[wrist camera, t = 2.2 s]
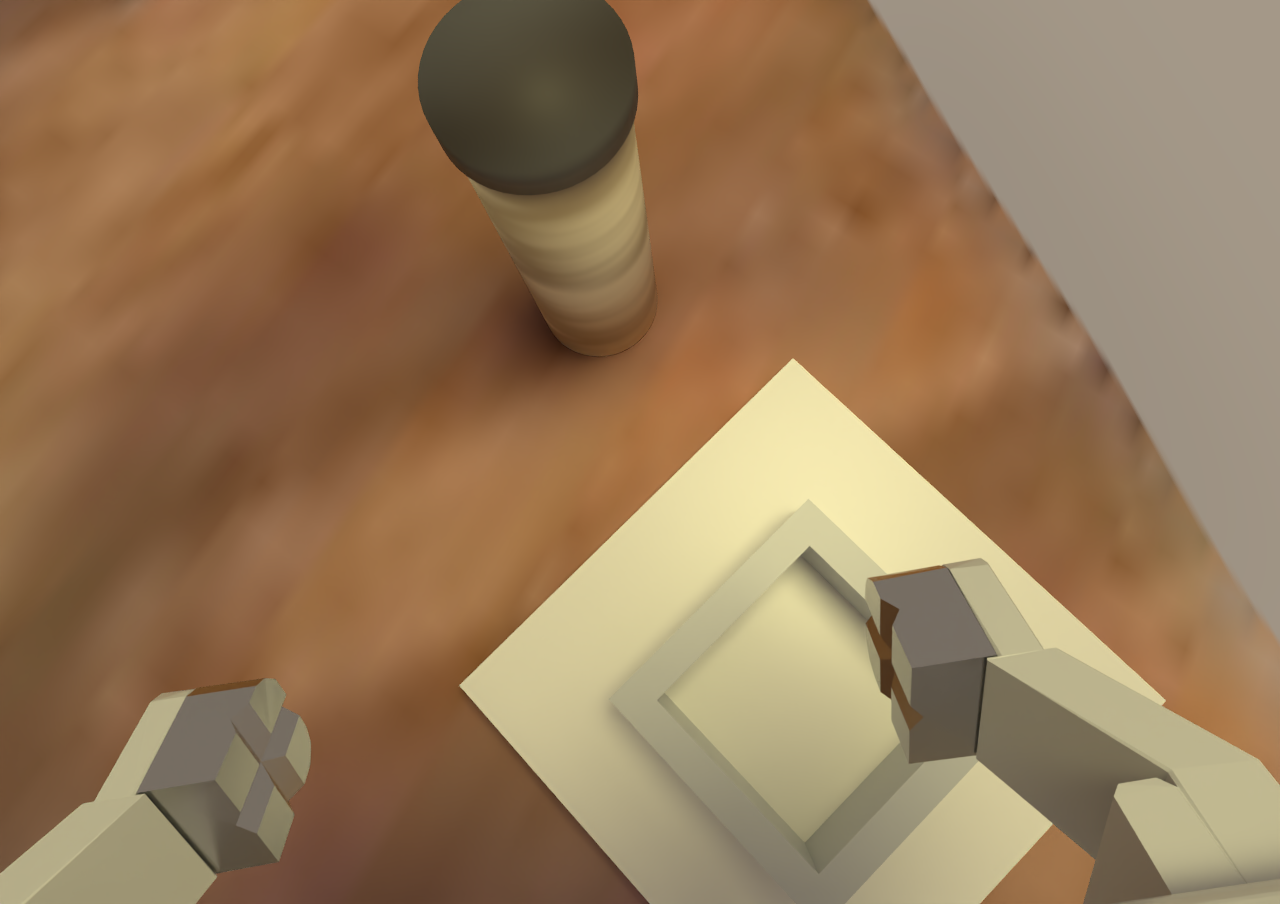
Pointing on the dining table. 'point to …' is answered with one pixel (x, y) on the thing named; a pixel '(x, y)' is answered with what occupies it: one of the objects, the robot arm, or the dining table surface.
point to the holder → (766, 678)
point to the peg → (551, 155)
